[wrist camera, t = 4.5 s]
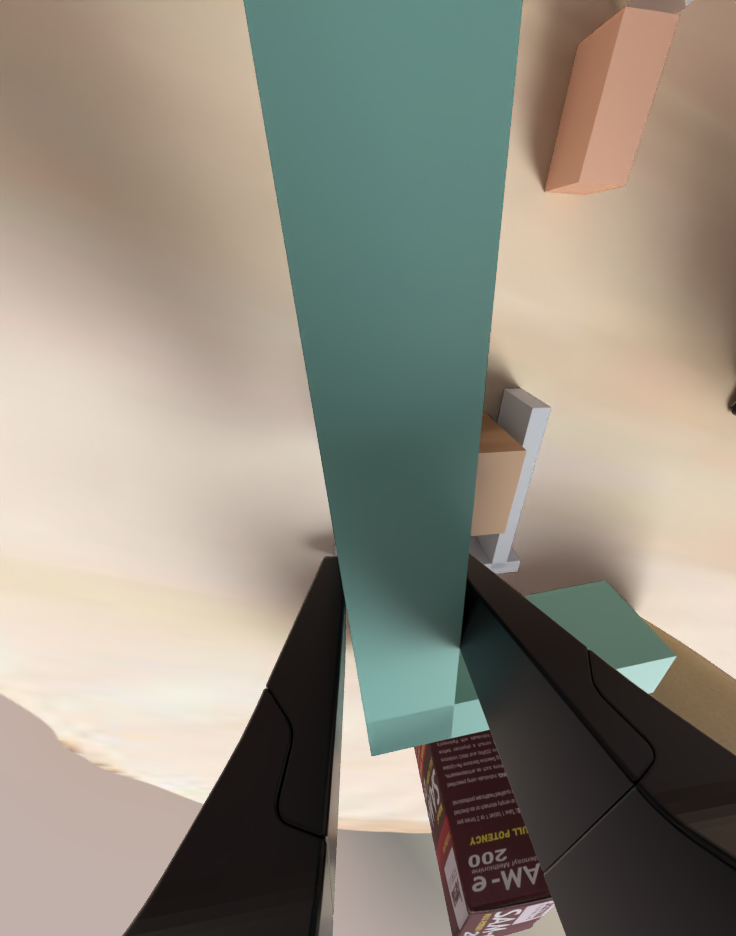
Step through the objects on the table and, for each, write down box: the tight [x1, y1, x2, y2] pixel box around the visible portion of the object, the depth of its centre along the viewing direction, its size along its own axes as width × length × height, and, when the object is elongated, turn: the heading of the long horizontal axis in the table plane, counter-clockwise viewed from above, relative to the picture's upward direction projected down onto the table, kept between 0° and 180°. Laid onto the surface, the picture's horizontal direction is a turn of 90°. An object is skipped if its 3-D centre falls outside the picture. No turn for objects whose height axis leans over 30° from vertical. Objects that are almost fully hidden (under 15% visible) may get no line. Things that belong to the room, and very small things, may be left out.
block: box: [471, 411, 527, 536], centre depth 20 cm, size 5×5×5 cm
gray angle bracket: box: [334, 388, 551, 574], centre depth 21 cm, size 12×12×3 cm
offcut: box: [544, 6, 680, 195], centre depth 14 cm, size 2×4×2 cm, turn 178°
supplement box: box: [414, 730, 555, 936], centre depth 24 cm, size 9×5×16 cm, turn 3°
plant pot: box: [642, 618, 736, 755], centre depth 28 cm, size 15×15×16 cm
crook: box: [243, 0, 677, 756], centre depth 8 cm, size 9×16×3 cm, turn 4°
